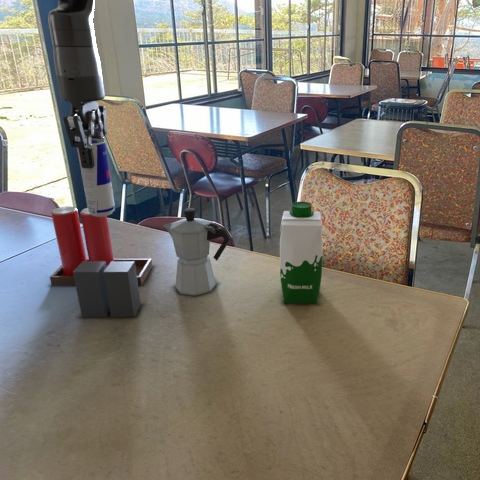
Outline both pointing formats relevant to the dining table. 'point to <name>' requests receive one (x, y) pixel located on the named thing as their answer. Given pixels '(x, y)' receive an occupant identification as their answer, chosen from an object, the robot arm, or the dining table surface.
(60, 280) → the can tray
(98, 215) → the beverage can
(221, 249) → the coffee maker
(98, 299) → the grey block
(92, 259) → the drink can
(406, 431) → the dining table surface
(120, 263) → the grey block
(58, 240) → the drink can
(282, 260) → the milk carton
